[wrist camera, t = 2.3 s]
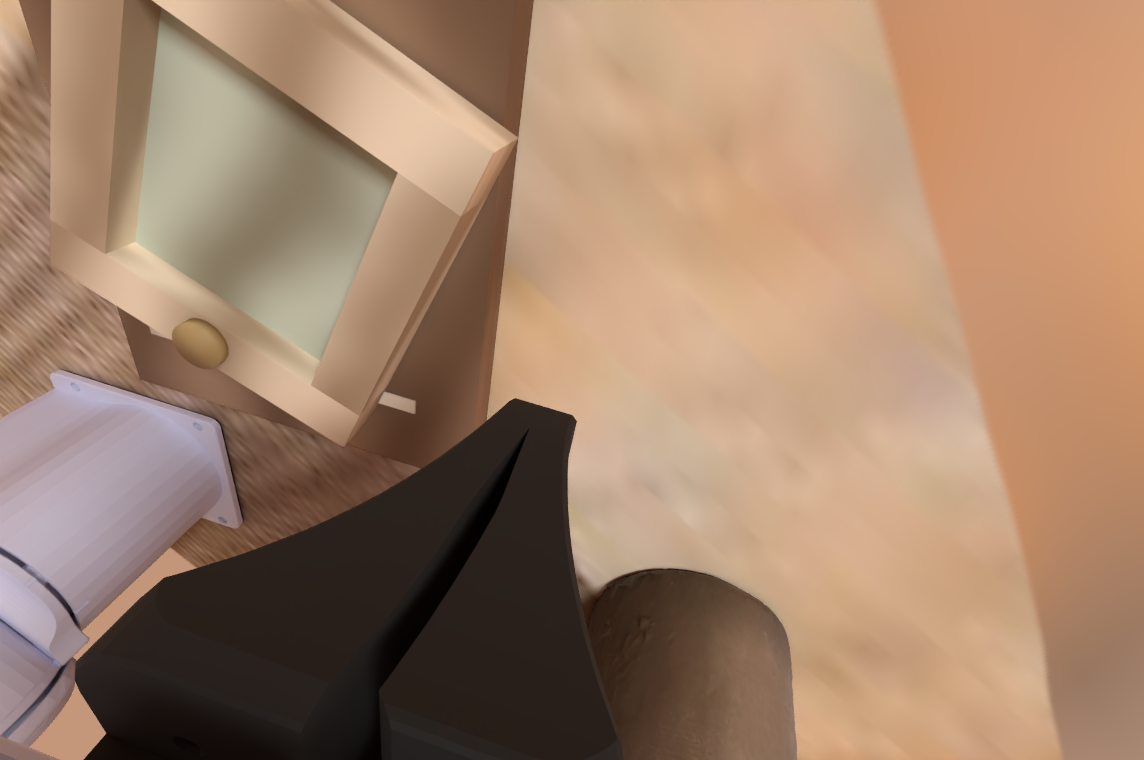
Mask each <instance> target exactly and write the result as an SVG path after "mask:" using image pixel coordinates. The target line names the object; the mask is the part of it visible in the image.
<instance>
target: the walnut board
mask: <svg viewBox="0 0 1144 760" xmlns="http://www.w3.org/2000/svg"><path fill="white" fill-rule="evenodd" d="M330 1H331V2H333V3H334V4H335V5H337V6H338V7H339V8H341V9H342V10H344V11H345V12H346V13H348V14H349V15H350V16H352V17H353V18H355V19H356V20H357V21H359V22H360V23H361V24H363V25H364V26H366V27H367V28H368V29H370V30H371V31H372V32H374V33H375V34H376V35H378V36H379V37H381V38H382V39H383V40H385V41H386V42H387V43H389V44H390V45H392V46H393V47H394V48H396V49H397V50H398V51H400V52H401V53H403V54H404V55H405V56H407V57H408V58H409V59H411V60H412V61H414V62H415V63H416V64H418V65H419V66H420V67H422V68H423V69H425V70H426V71H427V72H429V73H430V74H431V75H433V76H434V77H436V78H437V79H438V80H440V81H441V82H442V83H444V84H445V85H446V86H448V87H449V88H451V89H452V90H453V91H455V92H456V93H457V94H459V95H460V96H462V97H463V98H464V99H466V100H467V101H468V102H470V103H471V104H473V105H474V106H475V107H477V108H478V109H479V110H481V111H482V112H484V113H485V114H486V115H488V116H489V117H490V118H492V119H493V120H495V121H496V122H497V123H499V124H500V125H501V126H503V127H504V128H506V129H507V130H508V131H510V132H511V133H512V134H514V135H515V136H516V137H518V134H519V125H520V116H521V107H522V99H523V90H524V81H525V72H526V63H527V54H528V45H529V36H530V27H531V18H532V10H533V1H534V0H330ZM19 2H20V5H21V8H22V12H23V15H24V18H25V21H26V24H27V27H28V30H29V33H30V37H31V40H32V43H33V46H34V49H35V52H36V55H37V58H38V62H39V65H40V68H41V71H42V74H43V77H44V80H45V83H46V87H47V90H48V93H49V96H50V99H51V0H19ZM517 143H518V140H517V141H516V143H515V145H514V147H513V149H512V151H511V153H510V155H509V157H508V158H507V160H506V162H505V164H504V166H503V168H502V170H501V172H500V174H499V176H498V177H497V179H496V181H495V183H494V185H493V187H492V189H491V191H490V193H489V194H488V196H487V198H486V200H485V202H484V204H483V206H482V208H481V210H480V212H479V213H478V215H477V217H476V219H475V221H474V223H473V225H472V227H471V229H470V230H469V232H468V234H467V236H466V238H465V240H464V242H463V244H462V246H461V247H460V249H459V251H458V253H457V255H456V257H455V259H454V261H453V263H452V265H451V266H450V268H449V270H448V272H447V274H446V276H445V278H444V280H443V282H442V283H441V285H440V287H439V289H438V291H437V293H436V295H435V297H434V299H433V300H432V302H431V304H430V306H429V308H428V310H427V312H426V314H425V316H424V318H423V319H422V321H421V323H420V325H419V327H418V329H417V331H416V333H415V335H414V336H413V338H412V340H411V342H410V344H409V346H408V348H407V350H406V352H405V353H404V355H403V357H402V359H401V361H400V363H399V365H398V367H397V369H396V371H395V372H394V374H393V376H392V378H391V380H390V382H389V384H388V386H387V388H386V389H385V391H384V393H383V395H382V397H381V399H380V401H379V403H378V405H377V406H376V408H375V410H374V412H373V414H372V416H371V418H370V419H369V420H368V421H367V422H366V423H365V424H364V425H363V426H362V428H361V429H360V430H359V431H358V432H357V433H356V434H355V435H354V436H353V438H352V439H351V440H350V441H349V442H348V443H347V444H346V445H350V446H353V447H356V448H359V449H362V450H365V451H369V452H372V453H375V454H378V455H381V456H384V457H387V458H391V459H394V460H397V461H400V462H403V463H406V464H410V465H413V466H416V467H419V468H423V467H425V466H426V465H428V464H429V463H431V462H432V461H434V460H435V459H437V458H438V457H440V456H441V455H443V454H444V453H446V452H447V451H448V450H450V449H451V448H452V447H454V446H455V445H456V444H458V443H459V442H460V441H462V440H463V439H464V438H466V437H467V436H468V435H470V434H471V433H472V432H474V431H475V430H476V429H477V428H479V427H480V426H481V425H482V424H484V423H485V422H486V419H487V410H488V401H489V392H490V384H491V375H492V366H493V357H494V348H495V339H496V330H497V321H498V312H499V303H500V294H501V286H502V277H503V268H504V259H505V250H506V241H507V232H508V223H509V214H510V205H511V197H512V188H513V179H514V170H515V161H516V152H517ZM117 308H118V311H119V315H120V318H121V321H122V324H123V327H124V330H125V333H126V336H127V340H128V343H129V346H130V349H131V352H132V355H133V358H134V361H135V365H136V368H137V371H138V374H139V377H140V379H141V380H144V381H147V382H151V383H154V384H157V385H160V386H163V387H166V388H169V389H173V390H176V391H179V392H182V393H185V394H188V395H192V396H195V397H198V398H201V399H204V400H207V401H211V402H214V403H217V404H220V405H223V406H226V407H230V408H233V409H236V410H239V411H242V412H245V413H248V414H252V415H255V416H258V417H261V418H264V419H267V420H271V421H274V422H277V423H280V424H283V425H286V426H290V427H293V428H296V429H299V430H302V431H305V432H308V433H312V434H315V435H318V436H321V437H324V438H327V437H325V436H324V435H322V434H321V433H319V432H317V431H316V430H314V429H313V428H311V427H309V426H308V425H306V424H305V423H303V422H301V421H300V420H298V419H297V418H295V417H293V416H292V415H290V414H289V413H287V412H285V411H284V410H282V409H281V408H279V407H277V406H276V405H274V404H273V403H271V402H269V401H268V400H266V399H265V398H263V397H261V396H260V395H258V394H257V393H255V392H253V391H252V390H250V389H249V388H247V387H245V386H244V385H242V384H241V383H239V382H237V381H236V380H234V379H233V378H231V377H229V376H228V375H226V374H225V373H223V372H222V371H220V370H218V369H217V368H215V367H214V368H212V369H201V368H198V367H196V366H194V365H192V364H190V363H189V362H188V361H186V360H185V359H184V358H183V357H182V356H181V355H180V354H179V352H178V351H177V349H176V348H175V346H174V344H173V341H172V340H170V339H169V338H167V337H166V336H164V335H162V334H161V333H159V332H158V331H156V330H154V329H153V328H151V327H150V326H148V325H146V324H145V323H143V322H142V321H140V320H138V319H137V318H135V317H134V316H132V315H130V314H129V313H127V312H126V311H124V310H122V309H121V308H119V307H118V306H117ZM327 439H329V438H327Z"/></svg>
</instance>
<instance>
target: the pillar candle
mask: <svg viewBox="0 0 1144 760" xmlns="http://www.w3.org/2000/svg"><path fill="white" fill-rule="evenodd" d="M588 633H589V637H590V641H591V645H592V650H593V653H594V656H595V660H596V663H597V666H598V670H599V673H600V676H601V680H602V683H603V686H604V689H605V692H606V695H607V698H608V701H609V704H610V707H611V710H612V713H613V716H614V718H615V721H616V724H617V727H618V729H619V732H620V735H621V741H622V751H623V759H624V760H797V743H796V734H795V722H794V707H793V690H792V669H791V657H790V647H789V642H788V638H787V634H786V632H785V629H784V627H783V625H782V623H781V622H780V621H779V620H778V618H777V616H775V614H774V613H773V612H772V611H771V610H770V608H768V607H767V606H766V605H764V604H763V603H762V602H761V601H759V600H758V599H756V598H755V597H753V596H751V595H749V594H748V593H746V592H744V591H742V590H741V589H739V588H737V587H735V586H733V585H731V584H729V583H727V582H725V581H723V580H720V579H718V578H715V577H712V576H709V575H705V574H698V573H696V572H691V571H678V570H675V569H671V570H668V571H666V570H656V571H647V572H640V573H638V574H635V575H631V576H629V577H626V578H621V579H619V580H617V581H614V582H613V583H610V585H608V586H607V589H606V590H605V591H604V592H603V594H602V595H601V597H600V598H598V599H597V600H596V602H595V604H594V607H593V611H592V614H591V618H590V624H589V628H588Z"/></svg>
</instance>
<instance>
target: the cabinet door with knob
mask: <svg viewBox="0 0 1144 760" xmlns="http://www.w3.org/2000/svg"><path fill="white" fill-rule="evenodd" d="M517 140H518V137H516V136H515V135H514V134H512V133H511V132H510V131H508V130H507V129H506V128H504V127H503V126H501V125H500V124H499V123H497V122H496V121H495V120H493V119H492V118H490V117H489V116H488V115H486V114H485V113H484V112H482V111H481V110H479V109H478V108H477V107H475V106H474V105H473V104H471V103H470V102H468V101H467V100H466V99H464V98H463V97H462V96H460V95H459V94H457V93H456V92H455V91H453V90H452V89H451V88H449V87H448V86H446V85H445V84H444V83H442V82H441V81H440V80H438V79H437V78H436V77H434V76H433V75H431V74H430V73H429V72H427V71H426V70H425V69H423V68H422V67H420V66H419V65H418V64H416V63H415V62H414V61H412V60H411V59H409V58H408V57H407V56H405V55H404V54H403V53H401V52H400V51H398V50H397V49H396V48H394V47H393V46H392V45H390V44H389V43H387V42H386V41H385V40H383V39H382V38H381V37H379V36H378V35H376V34H375V33H374V32H372V31H371V30H370V29H368V28H367V27H366V26H364V25H363V24H361V23H360V22H359V21H357V20H356V19H355V18H353V17H352V16H350V15H349V14H348V13H346V12H345V11H344V10H342V9H341V8H339V7H338V6H337V5H335V4H334V3H333V2H331V1H330V0H51V185H50V264H51V265H52V266H54V267H55V268H57V269H59V270H60V271H62V272H63V273H65V274H67V275H68V276H70V277H71V278H73V279H75V280H76V281H78V282H79V283H81V284H83V285H84V286H86V287H87V288H89V289H91V290H92V291H94V292H95V293H97V294H99V295H100V296H102V297H103V298H105V299H107V300H108V301H110V302H111V303H113V304H114V305H116V306H118V307H119V308H121V309H122V310H124V311H126V312H127V313H129V314H130V315H132V316H134V317H135V318H137V319H138V320H140V321H142V322H143V323H145V324H146V325H148V326H150V327H151V328H153V329H154V330H156V331H158V332H159V333H161V334H162V335H164V336H166V337H167V338H169V339H170V340H172V341H173V344H174V346H175V348H176V349H177V351H178V352H179V354H180V355H181V356H182V357H183V358H184V359H185V360H186V361H188V362H189V363H190V364H192V365H194V366H196V367H198V368H201V369H212V368H214V367H215V368H217V369H218V370H220V371H222V372H223V373H225V374H226V375H228V376H229V377H231V378H233V379H234V380H236V381H237V382H239V383H241V384H242V385H244V386H245V387H247V388H249V389H250V390H252V391H253V392H255V393H257V394H258V395H260V396H261V397H263V398H265V399H266V400H268V401H269V402H271V403H273V404H274V405H276V406H277V407H279V408H281V409H282V410H284V411H285V412H287V413H289V414H290V415H292V416H293V417H295V418H297V419H298V420H300V421H301V422H303V423H305V424H306V425H308V426H309V427H311V428H313V429H314V430H316V431H317V432H319V433H321V434H322V435H324V436H325V437H327V438H329V439H330V440H332V441H333V442H335V443H337V444H338V445H340V446H341V447H343V448H344V446H345V445H346V444H347V443H348V442H349V441H350V440H351V439H352V438H353V436H354V435H355V434H356V433H357V432H358V431H359V430H360V429H361V428H362V426H363V425H364V424H365V423H366V422H367V421H368V420H369V419H370V418H371V416H372V414H373V412H374V410H375V408H376V406H377V405H378V403H379V401H380V399H381V397H382V395H383V393H384V391H385V389H386V388H387V386H388V384H389V382H390V380H391V378H392V376H393V374H394V372H395V371H396V369H397V367H398V365H399V363H400V361H401V359H402V357H403V355H404V353H405V352H406V350H407V348H408V346H409V344H410V342H411V340H412V338H413V336H414V335H415V333H416V331H417V329H418V327H419V325H420V323H421V321H422V319H423V318H424V316H425V314H426V312H427V310H428V308H429V306H430V304H431V302H432V300H433V299H434V297H435V295H436V293H437V291H438V289H439V287H440V285H441V283H442V282H443V280H444V278H445V276H446V274H447V272H448V270H449V268H450V266H451V265H452V263H453V261H454V259H455V257H456V255H457V253H458V251H459V249H460V247H461V246H462V244H463V242H464V240H465V238H466V236H467V234H468V232H469V230H470V229H471V227H472V225H473V223H474V221H475V219H476V217H477V215H478V213H479V212H480V210H481V208H482V206H483V204H484V202H485V200H486V198H487V196H488V194H489V193H490V191H491V189H492V187H493V185H494V183H495V181H496V179H497V177H498V176H499V174H500V172H501V170H502V168H503V166H504V164H505V162H506V160H507V158H508V157H509V155H510V153H511V151H512V149H513V147H514V145H515V143H516V141H517Z"/></svg>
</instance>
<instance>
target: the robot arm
mask: <svg viewBox="0 0 1144 760" xmlns="http://www.w3.org/2000/svg"><path fill="white" fill-rule="evenodd" d="M50 378H51V381H52V383H53V386H54V389H52V390H50V391H48V392H47V393H45V394H43V395H41V396H40V397H38V398H36V399H34V400H32V401H31V402H29V403H27V404H25V405H24V406H22V407H20V408H18V409H16V410H15V411H13V412H11V413H9V414H8V415H6V416H4V417H2V418H1V419H0V760H59V759H57V758H54V757H52V756H49V755H47V754H44V753H41V752H39V751H37V750H34V749H32V748H29V746H31V745H32V744H33V742H35V740H36V739H37V738H38V737H39V736H40V735H41V734H42V733H43V732H44V731H45V730H46V729H47V727H48V726H49V725H50V724H51V723H52V722H53V720H54V719H55V718H56V717H57V715H58V714H59V713H60V712H61V710H62V709H63V707H64V706H65V704H66V703H67V701H68V700H69V698H70V696H71V694H72V692H73V690H74V686H75V682H76V684H77V686H78V689H79V691H80V693H81V694H82V696H83V697H84V699H85V700H86V702H87V704H88V705H89V707H90V708H91V710H92V711H93V713H94V714H95V716H96V717H97V719H98V721H99V722H100V724H101V725H102V727H103V728H104V730H105V732H106V735H105V736H104V737H103V738H102V739H101V740H100V742H99V743H98V744H97V745H96V746H95V747H94V748H93V750H92V751H91V752H90V753H89V754H88V755H87V756H86V758H85V759H84V760H624V759H623V751H622V741H621V735H620V732H619V729H618V727H617V724H616V721H615V718H614V716H613V713H612V710H611V707H610V704H609V701H608V698H607V695H606V692H605V689H604V686H603V683H602V680H601V676H600V673H599V670H598V666H597V663H596V660H595V656H594V653H593V650H592V645H591V641H590V637H589V633H588V629H587V625H586V621H585V617H584V613H583V609H582V605H581V600H580V595H579V590H578V585H577V579H576V574H575V568H574V561H573V555H572V547H571V538H570V528H569V516H568V458H569V453H570V448H571V444H572V440H573V435H574V431H575V427H576V422H577V421H576V420H575V418H574V417H573V415H570V414H566V413H563V412H560V411H556V410H553V409H550V408H546V407H543V406H540V405H536V404H533V403H529V402H526V401H523V400H519V399H516V398H515V399H513V400H511V401H509V402H508V403H507V404H506V405H505V406H504V407H502V408H501V409H500V410H499V411H498V412H497V413H496V414H494V415H493V416H492V417H491V418H490V419H488V420H487V421H486V422H485V423H484V424H482V425H481V426H480V427H479V428H477V429H476V430H475V431H474V432H472V433H471V434H470V435H468V436H467V437H466V438H464V439H463V440H462V441H460V442H459V443H458V444H456V445H455V446H454V447H452V448H451V449H450V450H448V451H447V452H446V453H444V454H443V455H441V456H440V457H438V458H437V459H435V460H434V461H432V462H431V463H429V464H428V465H426V466H425V467H423V468H422V469H420V470H419V471H417V472H416V473H414V474H413V475H411V476H410V477H408V478H406V479H405V480H403V481H401V482H400V483H398V484H396V485H395V486H393V487H391V488H389V489H388V490H386V491H384V492H382V493H381V494H379V495H377V496H375V497H373V498H371V499H370V500H368V501H366V502H364V503H362V504H360V505H358V506H356V507H354V508H352V509H350V510H348V511H346V512H344V513H342V514H339V515H337V516H335V517H333V518H331V519H329V520H327V521H325V522H323V523H320V524H318V525H316V526H314V527H311V528H309V529H307V530H304V531H302V532H299V533H296V534H294V535H291V536H289V537H286V538H284V539H281V540H279V541H276V542H273V543H271V544H268V545H266V546H263V547H261V548H258V549H255V550H253V551H250V552H247V553H244V554H241V555H238V556H235V557H232V558H229V559H226V560H222V561H219V562H216V563H212V564H209V565H206V566H203V567H199V568H196V569H193V570H190V571H186V572H183V573H180V574H177V575H173V576H169V577H166V578H163V579H162V580H161V581H160V582H159V583H158V584H157V585H155V586H154V587H153V588H152V589H151V590H149V591H148V592H147V593H146V594H145V595H144V596H142V597H141V598H140V599H139V600H138V601H137V602H136V603H135V604H134V605H133V606H132V607H131V608H130V609H129V610H128V611H127V612H126V613H125V614H124V615H123V616H122V617H121V618H120V619H119V620H118V621H117V622H116V623H115V624H114V625H113V626H112V627H111V628H110V629H109V630H108V631H107V632H106V633H105V634H104V635H103V636H102V637H101V638H100V639H98V640H97V642H95V644H93V645H92V646H91V647H90V648H89V650H88V651H87V652H86V653H84V654H83V656H82V657H80V658H79V659H78V661H76V659H74V658H73V656H74V655H75V654H76V653H77V652H78V651H79V650H80V649H81V648H82V647H83V646H84V645H85V644H86V643H87V642H88V641H89V638H88V637H87V636H86V635H85V634H84V633H83V632H82V630H83V629H84V628H86V627H87V625H89V624H90V623H91V622H92V621H93V620H94V619H95V618H96V617H97V616H98V615H99V614H100V613H101V612H102V611H103V610H104V609H105V608H107V607H108V606H109V605H110V604H111V603H112V602H113V601H114V600H115V599H116V598H117V597H118V596H119V595H120V594H121V593H122V592H123V591H124V590H125V589H127V588H128V587H129V585H131V584H132V583H133V582H134V581H135V580H136V579H137V578H138V577H139V576H140V575H141V574H142V573H143V572H144V571H145V570H146V569H147V568H149V567H150V566H151V565H152V564H153V563H154V562H155V561H156V560H157V559H158V558H159V557H160V556H161V555H162V554H163V553H164V552H165V551H166V550H167V549H169V548H170V547H171V546H172V545H173V544H174V543H175V542H176V541H177V540H178V539H179V538H180V537H181V536H182V535H183V534H184V533H185V532H186V531H187V530H189V529H190V528H191V527H192V526H193V525H194V524H195V523H196V522H197V521H198V520H199V519H200V518H204V519H207V520H210V521H213V522H216V523H219V524H222V525H224V526H227V527H230V528H238V527H239V526H240V525H241V524H242V523H243V520H242V516H241V512H240V507H239V503H238V499H237V495H236V490H235V486H234V482H233V477H232V473H231V469H230V465H229V460H228V456H227V452H226V448H225V443H224V439H223V435H222V431H221V427H220V424H219V423H218V422H217V421H216V420H215V419H213V418H210V417H207V416H204V415H201V414H198V413H195V412H191V411H188V410H185V409H182V408H179V407H176V406H173V405H170V404H166V403H163V402H160V401H157V400H154V399H151V398H148V397H145V396H141V395H138V394H135V393H132V392H129V391H126V390H123V389H120V388H116V387H113V386H110V385H107V384H104V383H101V382H98V381H95V380H91V379H88V378H85V377H82V376H79V375H76V374H73V373H70V372H66V371H63V370H57V371H55V372H53V373H51V375H50Z"/></svg>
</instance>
